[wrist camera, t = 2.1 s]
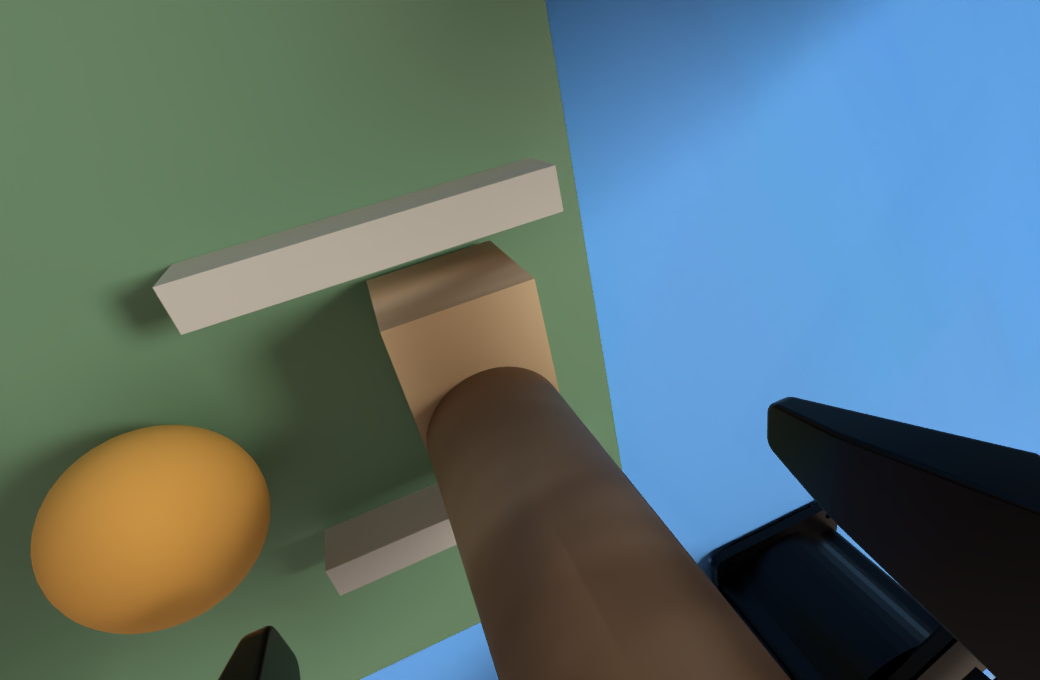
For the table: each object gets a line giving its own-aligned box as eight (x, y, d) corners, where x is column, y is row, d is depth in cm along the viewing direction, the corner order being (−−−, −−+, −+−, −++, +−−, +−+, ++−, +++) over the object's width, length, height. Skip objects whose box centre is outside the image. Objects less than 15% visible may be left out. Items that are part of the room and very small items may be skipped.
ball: (230, 365, 12) (196, 474, 9) (302, 490, 14) (298, 620, 11) (36, 431, 11) (-86, 579, 8) (141, 554, 13) (80, 717, 10)
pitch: (503, -137, 11) (550, -192, 9) (621, 529, 20) (657, 580, 18) (-1295, 182, 6) (-2125, 229, 4) (-54, 843, 16) (-111, 960, 14)
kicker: (489, 240, 13) (861, 558, 4) (538, 433, 15) (816, 857, 7) (366, 280, 12) (492, 753, 3) (441, 473, 15) (612, 992, 6)
